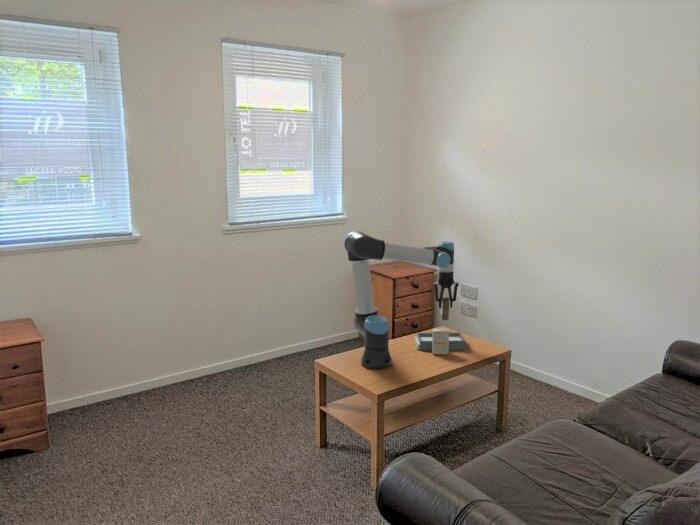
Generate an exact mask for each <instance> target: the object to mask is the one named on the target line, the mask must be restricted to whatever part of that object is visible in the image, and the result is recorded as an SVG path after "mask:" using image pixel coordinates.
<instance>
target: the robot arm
mask: <svg viewBox="0 0 700 525" xmlns="http://www.w3.org/2000/svg"><path fill="white" fill-rule="evenodd" d="M343 245H344V248H345V250H346V252H347V260H348V262H350V263H351V267H352V273H353V274H352V276H353V283H354V291H355V298H356V299H355V300H356V308H355V311H354V314H355V315H354V318H353V324H354V327H355V329H356V330H357V331H358V332H359V333H361V335H362V336H363V337H364V350H363V353H362V356H361V358H360V359H361V365H362V367H365V369H370V370H383V369H388V368H389V367H392V364H393V359H392V356H391V352H390V350H389V328H390V326H389V320H388V318H386V317H385V316H382V315H381V314H380V315H379V311H378V307H376V306H375V303H374V294H373V285H372V278H371V275H372V274H371V268H370V260H377V261H378V260H379V261H383V259H386V260H391V261H392V260H394V261H400V262H407V263H413V264H414V263H415V264H421V265H429V266H435V267H438V268H439V269H438V271H439V272H438V280H437V281H436V282H433V287H434V296H435V298H434V299H435V302H438V308H439V309H440V315H442V314H443V302H442V298H443V297H444V291H445V289H447V293H448V298H449V315H451V309H452V308H453V302H455V301H457V295H458V294H457V293H458V287H459V282H457V281H455V280H454V265H455V264H454V263H455V262H454V261H455V259H454V257H455V244H454V242H452V241H447V240H445V241H440V243H439V245H437V246H424V247H423V246H421V247H414V246H408V245H401V244H397V243H396V244H394V243H390V242H389V243H388V242H386V241H385V240H383V239H378V238H375V237H372V236H370V235H368V234H366V233H364V232H363V231H359V230H358V231H357V230H355V231H351V232H349V233H348V234H347V235H346V236H345V237H344V241H343ZM439 286H440V291H439V292H438V290H439ZM452 287H453V293H452ZM452 294H453V295H452Z"/></svg>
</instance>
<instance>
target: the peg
mask: <svg viewBox="0 0 700 525" xmlns="http://www.w3.org/2000/svg"><path fill="white" fill-rule="evenodd" d="M449 301H450V300H449V296H443V297H442V302H443V314H441V320H442V321H448V320H449V315H450V314H449Z"/></svg>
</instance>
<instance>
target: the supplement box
mask: <svg viewBox="0 0 700 525" xmlns="http://www.w3.org/2000/svg"><path fill="white" fill-rule="evenodd" d="M449 331H450V330H449V328H441V327H440V328H439V327H437V328H436V327H433V328H432V332H431V333H432V350H431V351H432V355H438V356H442V355H443V356H447V355H448V356H449V353H450V352H449V351H450V350H449Z"/></svg>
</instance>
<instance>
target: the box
mask: <svg viewBox="0 0 700 525" xmlns="http://www.w3.org/2000/svg"><path fill="white" fill-rule="evenodd" d="M432 333H433V332H417V333H416V336H414V342H415V343H414V344H415V346H416V349H417V350H419V351H432ZM466 343H467V342H466V338H464V336H463V334H462V332H459V331H456V332H453V331H452V332H449V351H465V350H466V345H467V344H466Z"/></svg>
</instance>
